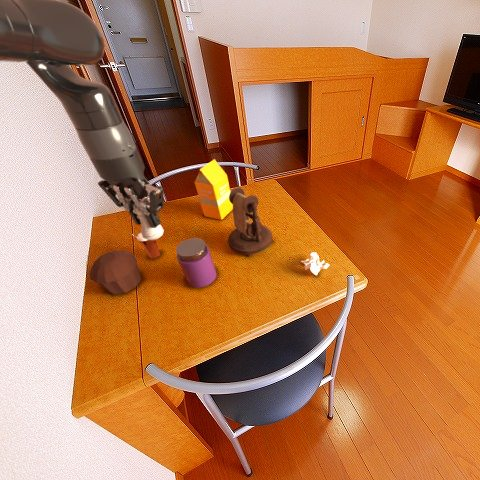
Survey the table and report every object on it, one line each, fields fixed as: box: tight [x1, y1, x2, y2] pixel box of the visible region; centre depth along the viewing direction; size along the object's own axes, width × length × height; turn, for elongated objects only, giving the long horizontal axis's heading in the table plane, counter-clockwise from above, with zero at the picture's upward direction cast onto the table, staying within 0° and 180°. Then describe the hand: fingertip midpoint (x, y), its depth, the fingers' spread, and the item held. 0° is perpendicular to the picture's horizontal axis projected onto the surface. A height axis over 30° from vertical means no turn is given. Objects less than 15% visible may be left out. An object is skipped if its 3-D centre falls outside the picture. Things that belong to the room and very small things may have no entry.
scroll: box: [227, 186, 273, 257], centre depth 88 cm, size 15×15×20 cm
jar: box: [176, 244, 218, 289], centre depth 79 cm, size 8×8×12 cm
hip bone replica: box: [300, 251, 330, 276], centre depth 85 cm, size 8×4×7 cm
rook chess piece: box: [133, 203, 165, 240], centre depth 60 cm, size 4×4×8 cm
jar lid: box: [175, 237, 207, 261], centre depth 75 cm, size 8×8×2 cm
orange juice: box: [194, 158, 233, 221], centre depth 101 cm, size 8×9×20 cm
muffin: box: [88, 250, 142, 296], centre depth 76 cm, size 12×11×10 cm
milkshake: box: [130, 232, 161, 259], centre depth 85 cm, size 4×5×10 cm
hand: (148, 223), depth 61 cm, fingers closed on rook chess piece, 3 cm apart
